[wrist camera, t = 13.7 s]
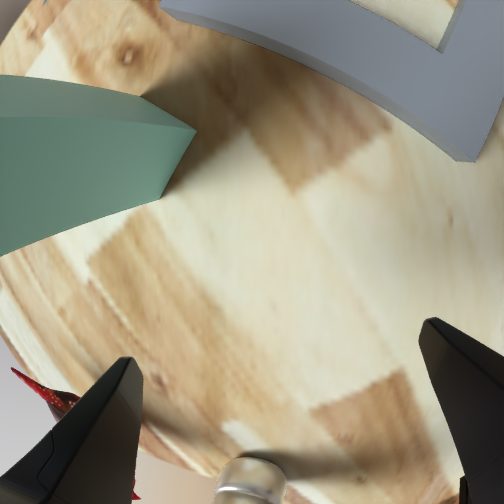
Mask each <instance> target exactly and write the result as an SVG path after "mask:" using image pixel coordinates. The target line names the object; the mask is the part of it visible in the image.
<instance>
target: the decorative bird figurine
mask: <svg viewBox="0 0 504 504" xmlns="http://www.w3.org/2000/svg"><path fill="white" fill-rule="evenodd" d="M11 370H12V371H13V372H14V373H15V374H16V375H17V376H18V377H19V378H21V380H22V381H23V382H25V383H26V384H27V385H28V386H29V387H30V388H32V389H33V390H34V391H35V392H36V393H38V394H39V395H40V396H41V397H42V398H43V399H45V400H46V402H47V404H48V406H49V408H50V410H51V412H52V414H53V416H54V418H55V420H56V422H57V423H58V422H59V421H60V419H61V418H62V417H63V416H64V415H65V414H66V413H67V412H68V411H69V410H70V409H71V408H72V407H73V406H74V405H75V404H76V403H77V401H78V400H79V399H80V397H79V396H77V395H75V394H73V393H70V392H63V391H57V390H52V389H49V388H46V387H44V386H42V385H40V384H39V383H37V382H35V381H34V380H32V379H30V378H29V377H27V376H26V375H24V374H23V373H21V372H19V371H18V370H16V369H14V368H12V367H11ZM135 469H136V465H135ZM134 486H135V474H134V483H133V489H134ZM139 499H140V498H139V497H138V496H137V495H136V494H135V493H134V491H133V492H132V500H139Z"/></svg>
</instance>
